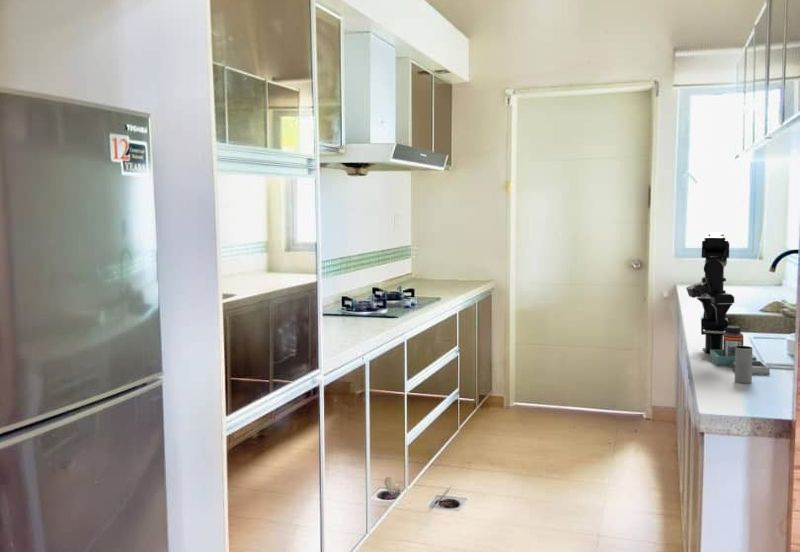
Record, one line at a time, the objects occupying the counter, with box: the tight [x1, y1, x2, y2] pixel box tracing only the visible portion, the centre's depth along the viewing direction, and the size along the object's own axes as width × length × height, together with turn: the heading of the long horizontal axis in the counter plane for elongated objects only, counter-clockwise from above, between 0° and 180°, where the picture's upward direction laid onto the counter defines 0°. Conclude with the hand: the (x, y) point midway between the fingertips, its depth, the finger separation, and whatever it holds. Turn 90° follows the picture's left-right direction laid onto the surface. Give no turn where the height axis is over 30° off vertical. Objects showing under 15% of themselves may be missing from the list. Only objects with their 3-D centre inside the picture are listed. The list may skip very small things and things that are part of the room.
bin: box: [709, 350, 757, 367], centre depth 243 cm, size 12×12×3 cm
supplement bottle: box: [723, 325, 744, 357], centre depth 242 cm, size 6×6×11 cm
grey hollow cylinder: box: [734, 345, 753, 384], centre depth 218 cm, size 4×4×10 cm
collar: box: [729, 360, 771, 375], centre depth 231 cm, size 9×9×2 cm
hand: (713, 321), depth 246 cm, fingers open, 9 cm apart
